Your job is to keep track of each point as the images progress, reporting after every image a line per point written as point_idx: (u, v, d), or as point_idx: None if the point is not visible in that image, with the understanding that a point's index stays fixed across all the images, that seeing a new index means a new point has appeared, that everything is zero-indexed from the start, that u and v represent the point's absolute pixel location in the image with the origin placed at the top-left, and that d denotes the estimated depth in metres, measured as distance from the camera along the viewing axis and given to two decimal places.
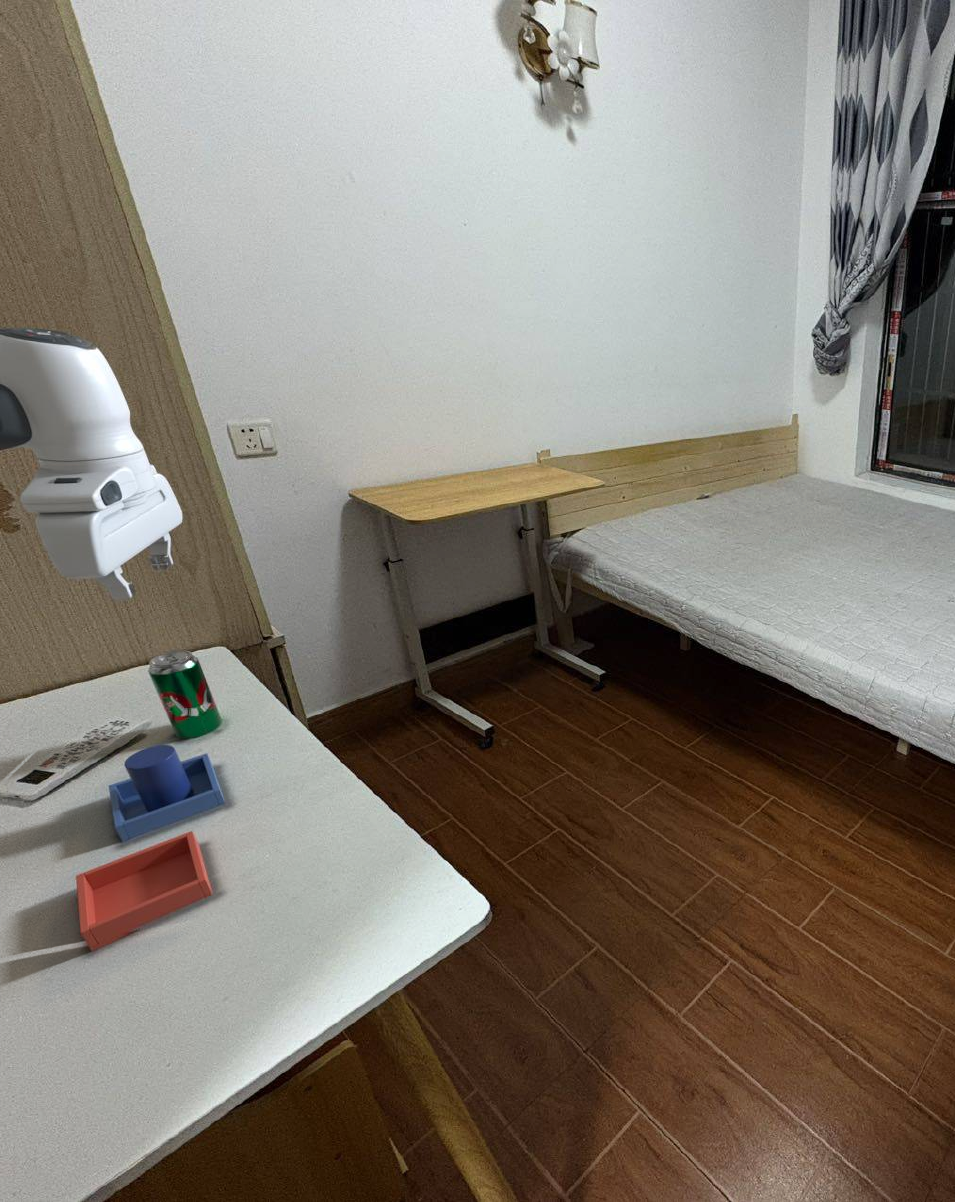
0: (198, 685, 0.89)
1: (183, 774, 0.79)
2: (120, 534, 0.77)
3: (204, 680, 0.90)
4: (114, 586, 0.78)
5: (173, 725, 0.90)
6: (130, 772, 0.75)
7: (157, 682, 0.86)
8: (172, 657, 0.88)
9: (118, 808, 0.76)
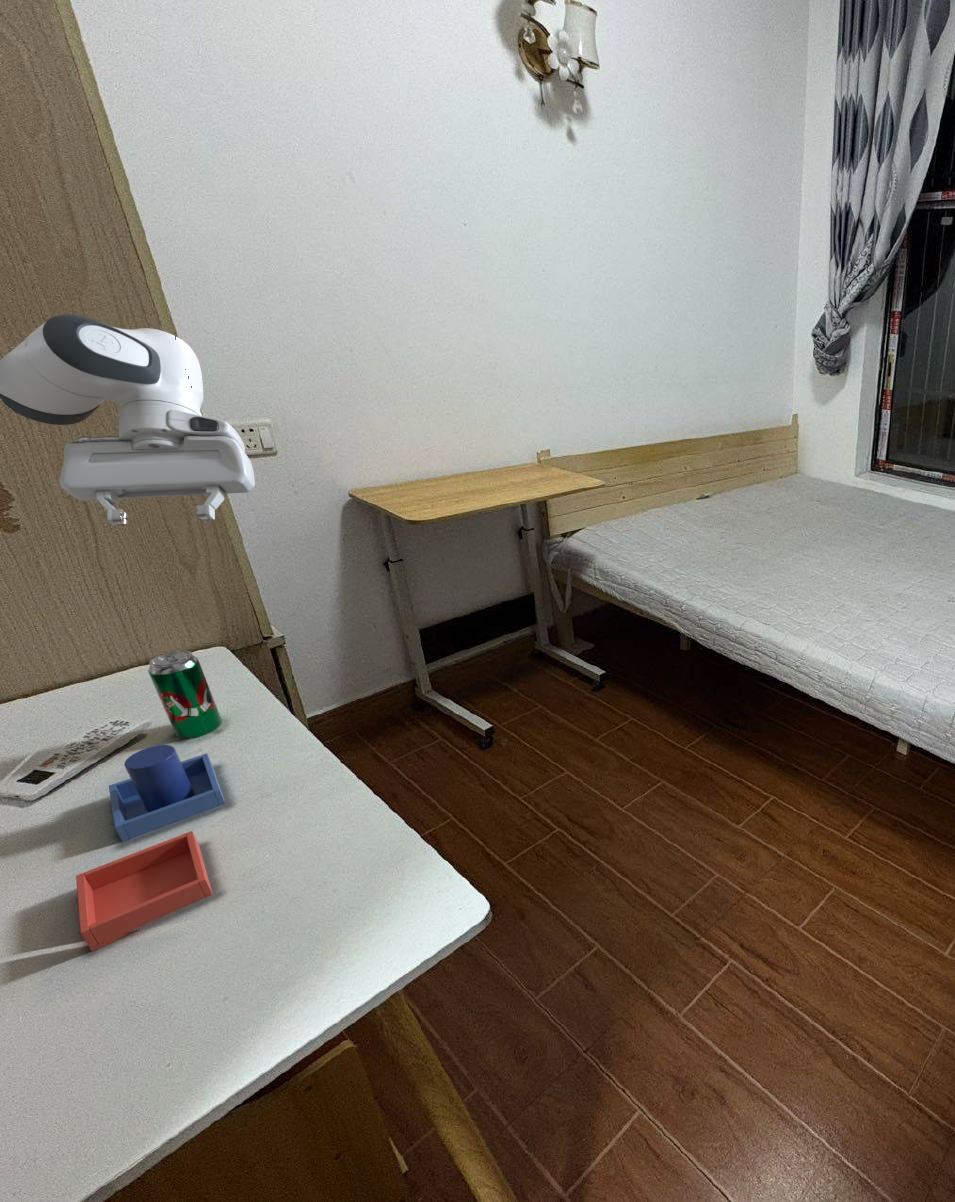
0: (198, 685, 0.89)
1: (183, 774, 0.79)
2: None
3: (204, 680, 0.90)
4: (214, 505, 0.94)
5: (173, 725, 0.90)
6: (130, 772, 0.75)
7: (157, 682, 0.86)
8: (172, 657, 0.88)
9: (118, 808, 0.76)
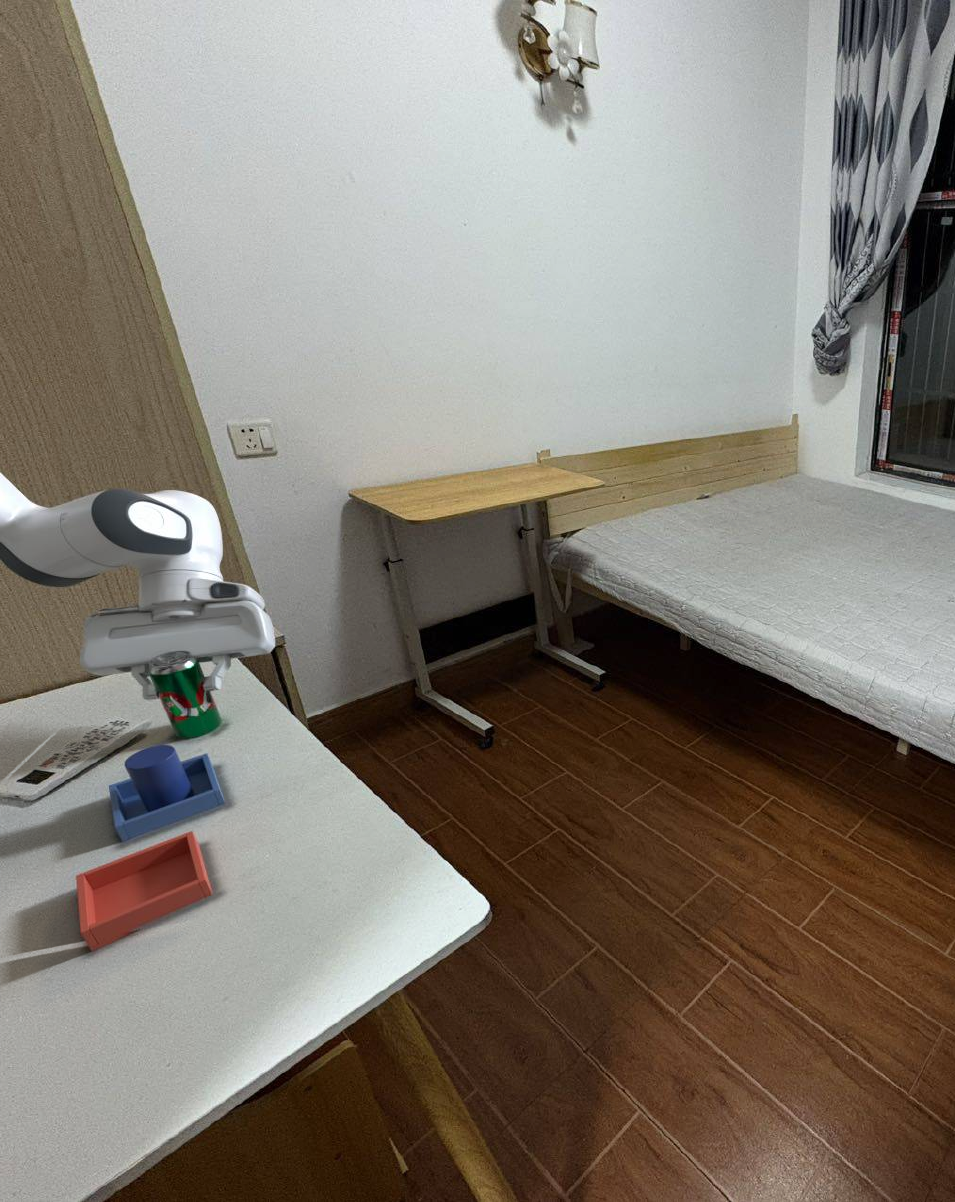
0: (197, 685, 0.89)
1: (183, 774, 0.79)
2: None
3: None
4: (220, 675, 0.92)
5: (173, 725, 0.90)
6: (130, 772, 0.75)
7: (157, 682, 0.86)
8: (171, 657, 0.88)
9: (118, 808, 0.76)
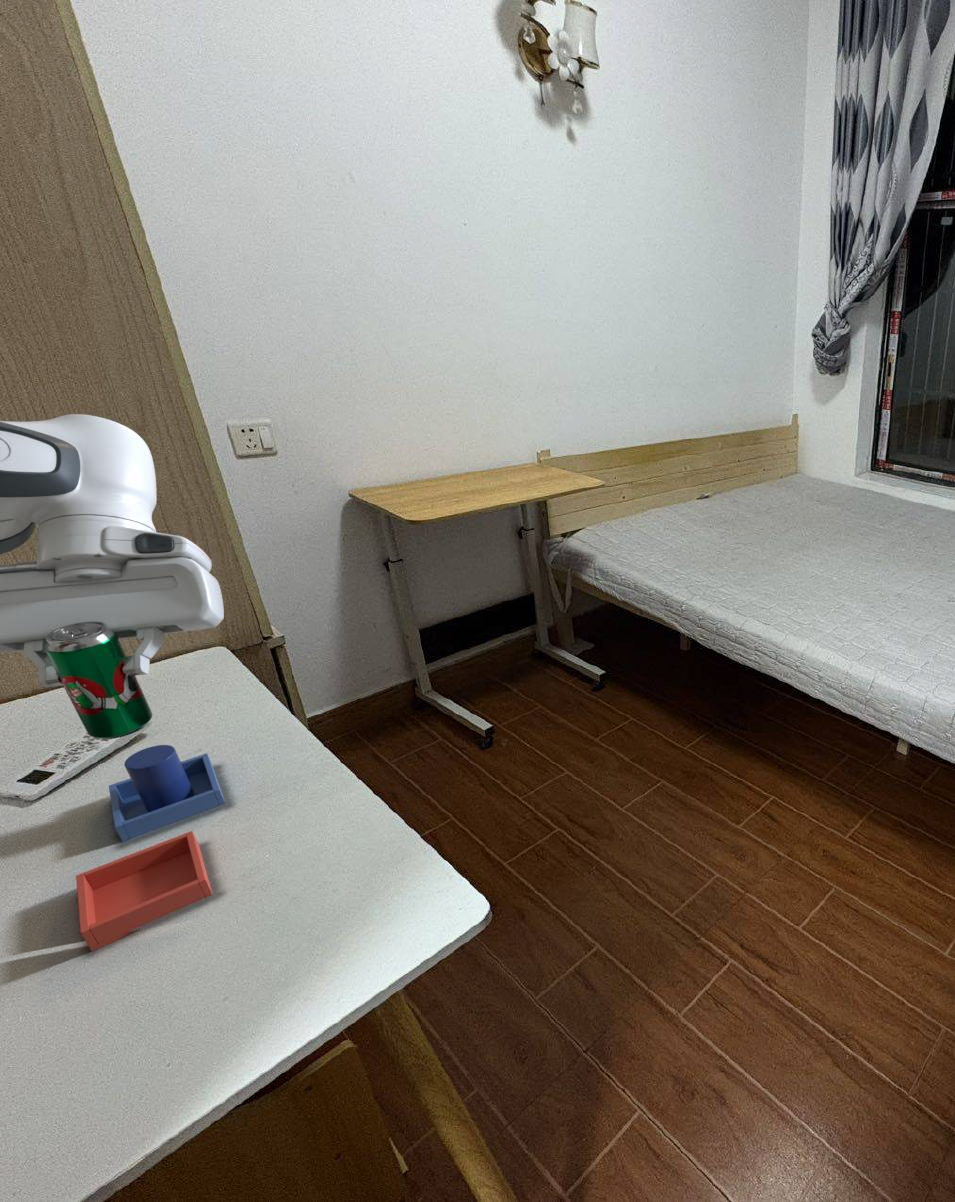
0: (115, 668, 0.67)
1: (183, 774, 0.79)
2: None
3: None
4: (148, 654, 0.69)
5: (83, 721, 0.67)
6: (130, 772, 0.75)
7: (56, 662, 0.64)
8: (79, 629, 0.66)
9: (118, 808, 0.76)
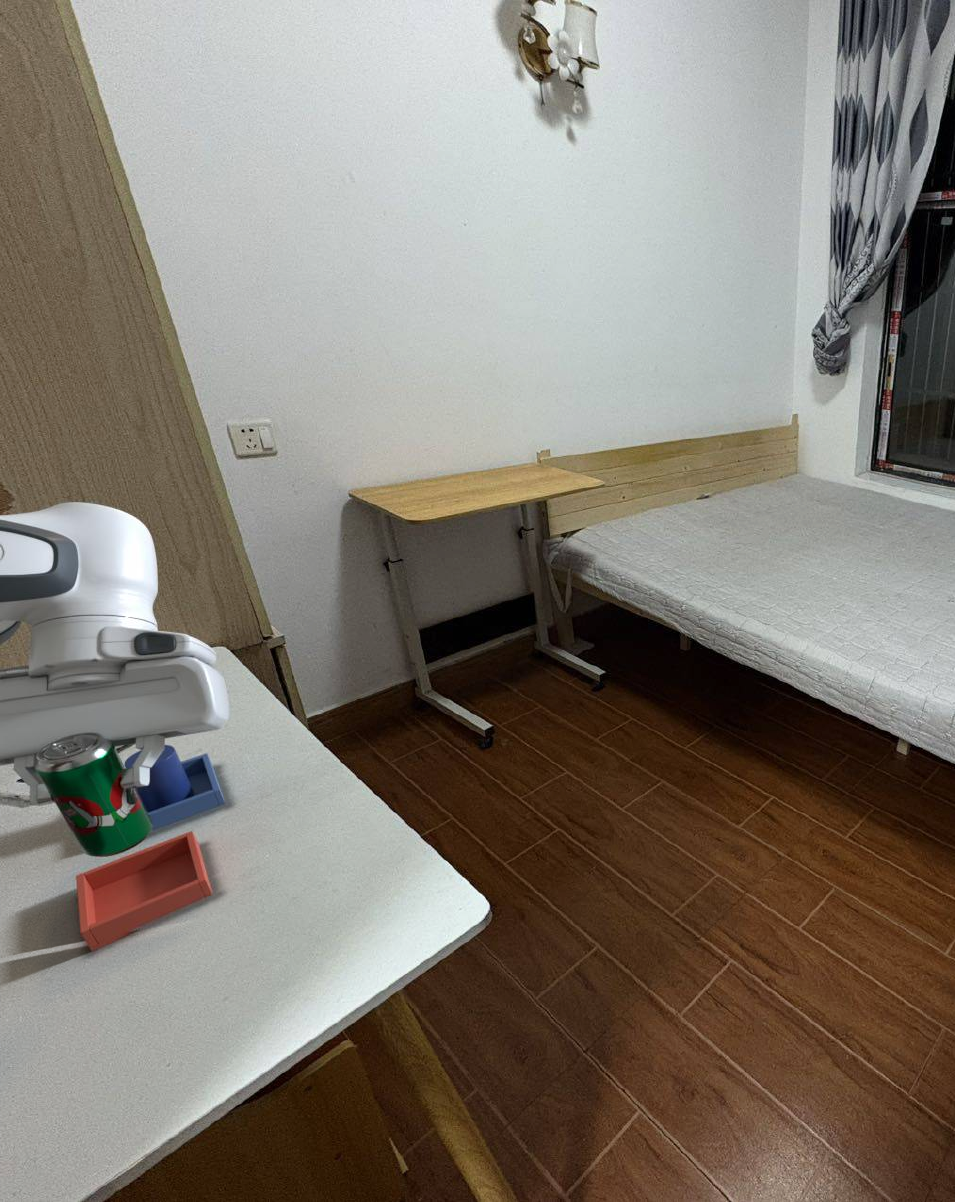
0: (112, 783, 0.62)
1: (183, 774, 0.79)
2: None
3: None
4: (148, 764, 0.64)
5: (78, 839, 0.62)
6: None
7: (49, 782, 0.59)
8: (73, 744, 0.61)
9: None
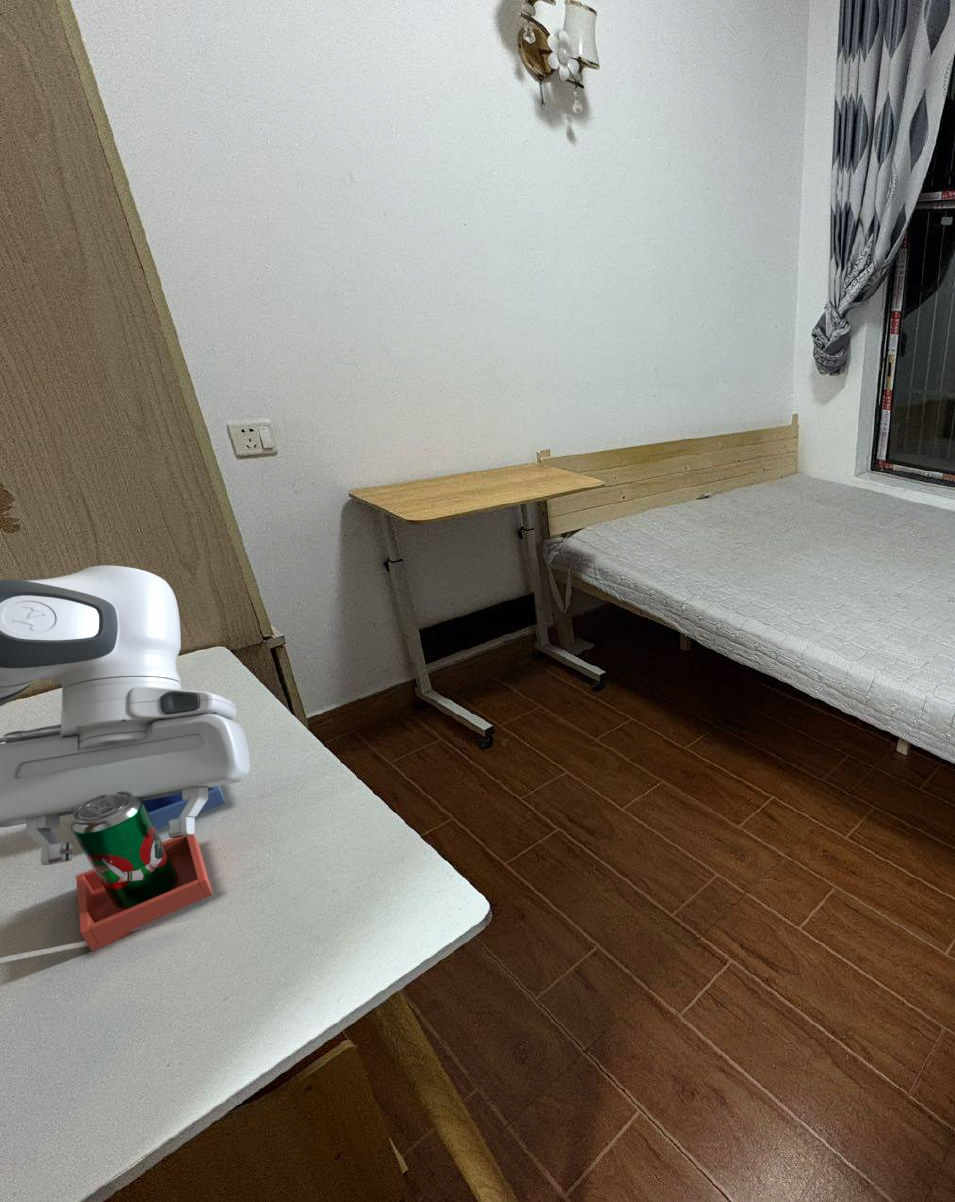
0: (142, 840, 0.65)
1: None
2: None
3: (151, 830, 0.66)
4: (193, 814, 0.68)
5: (108, 893, 0.66)
6: None
7: (83, 842, 0.62)
8: (105, 804, 0.64)
9: None
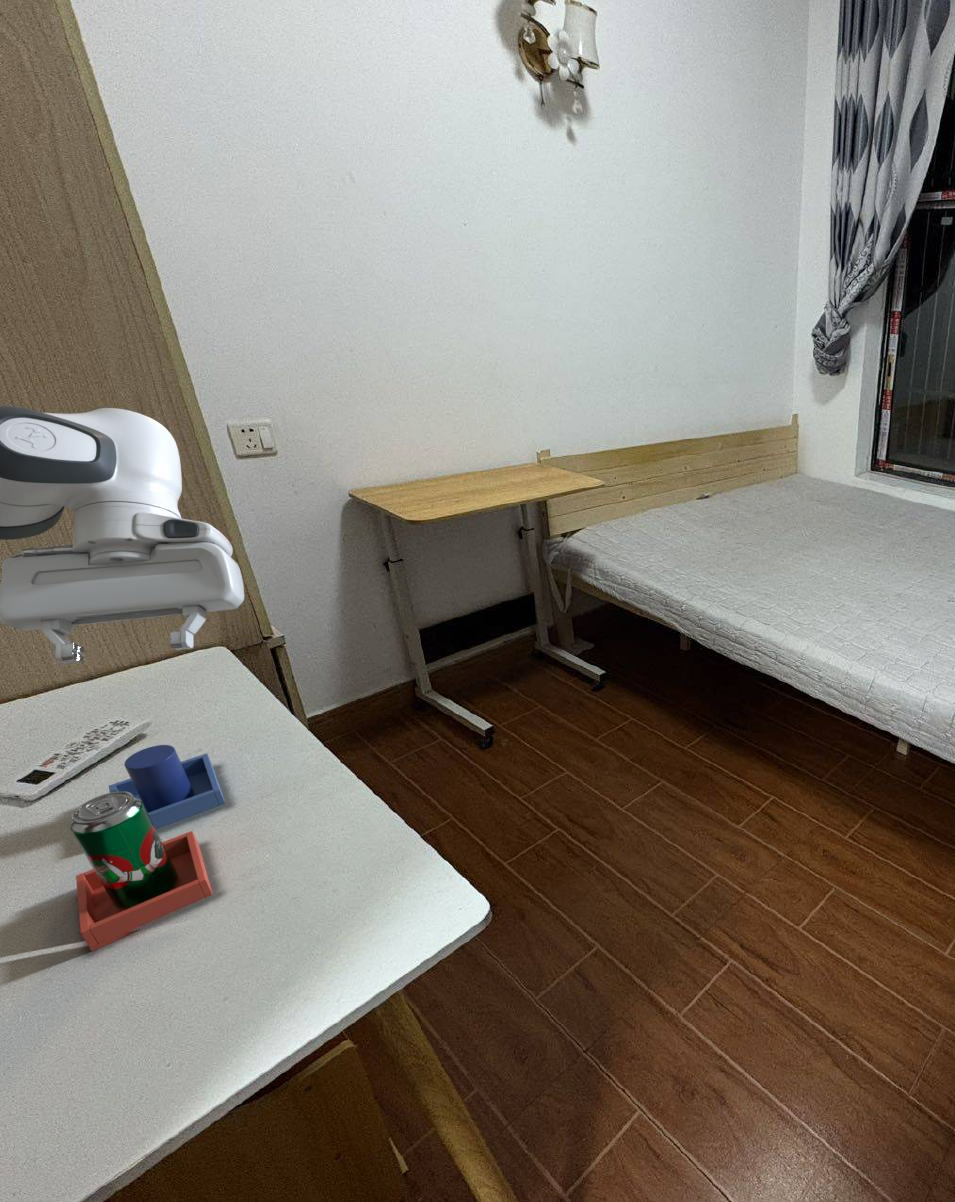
0: (142, 840, 0.65)
1: (183, 774, 0.79)
2: None
3: (151, 830, 0.66)
4: (192, 630, 0.75)
5: (108, 893, 0.66)
6: (130, 772, 0.75)
7: (83, 842, 0.62)
8: (105, 804, 0.64)
9: None
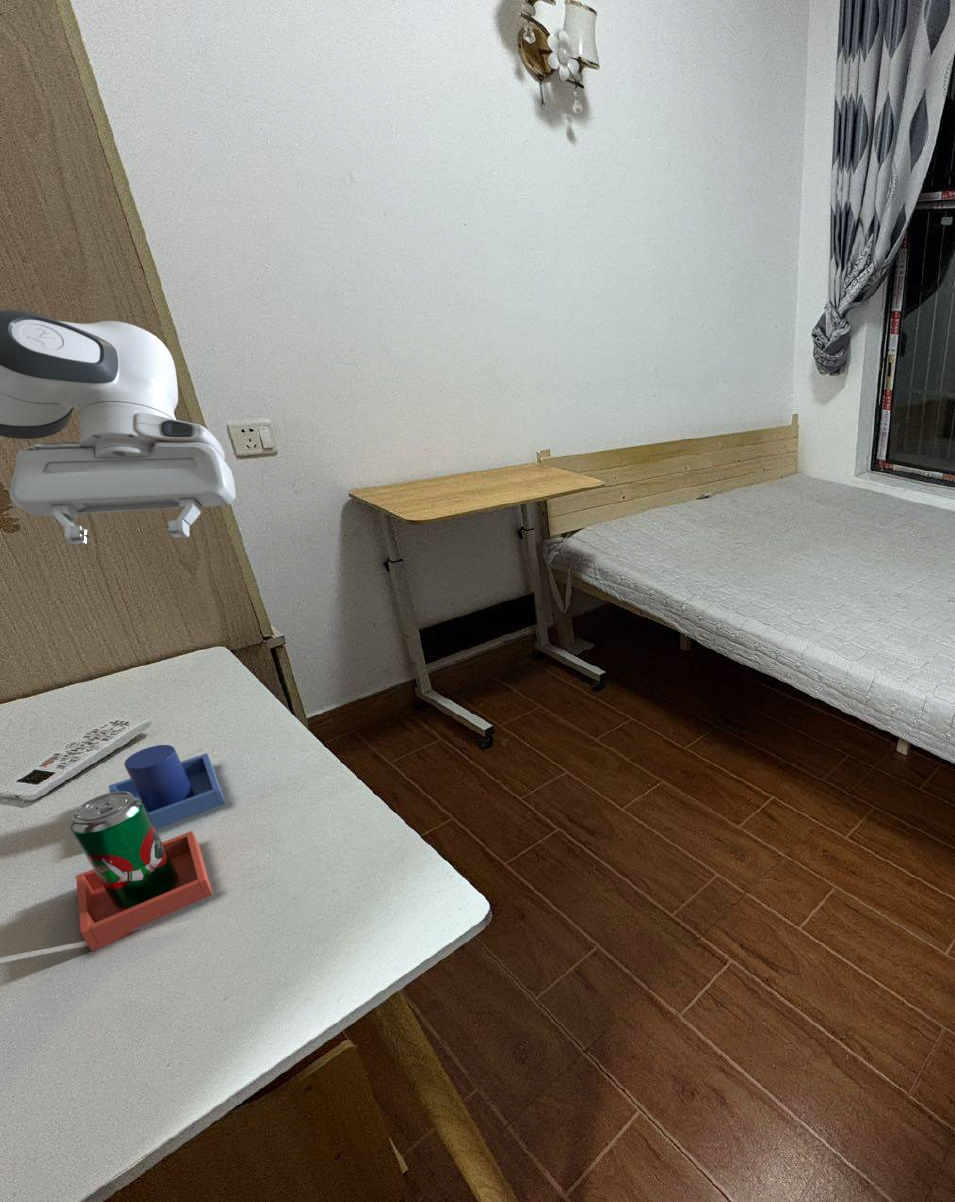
0: (142, 840, 0.65)
1: (183, 774, 0.79)
2: None
3: (151, 830, 0.66)
4: (188, 521, 0.83)
5: (108, 893, 0.66)
6: (130, 772, 0.75)
7: (83, 842, 0.62)
8: (105, 804, 0.64)
9: None
